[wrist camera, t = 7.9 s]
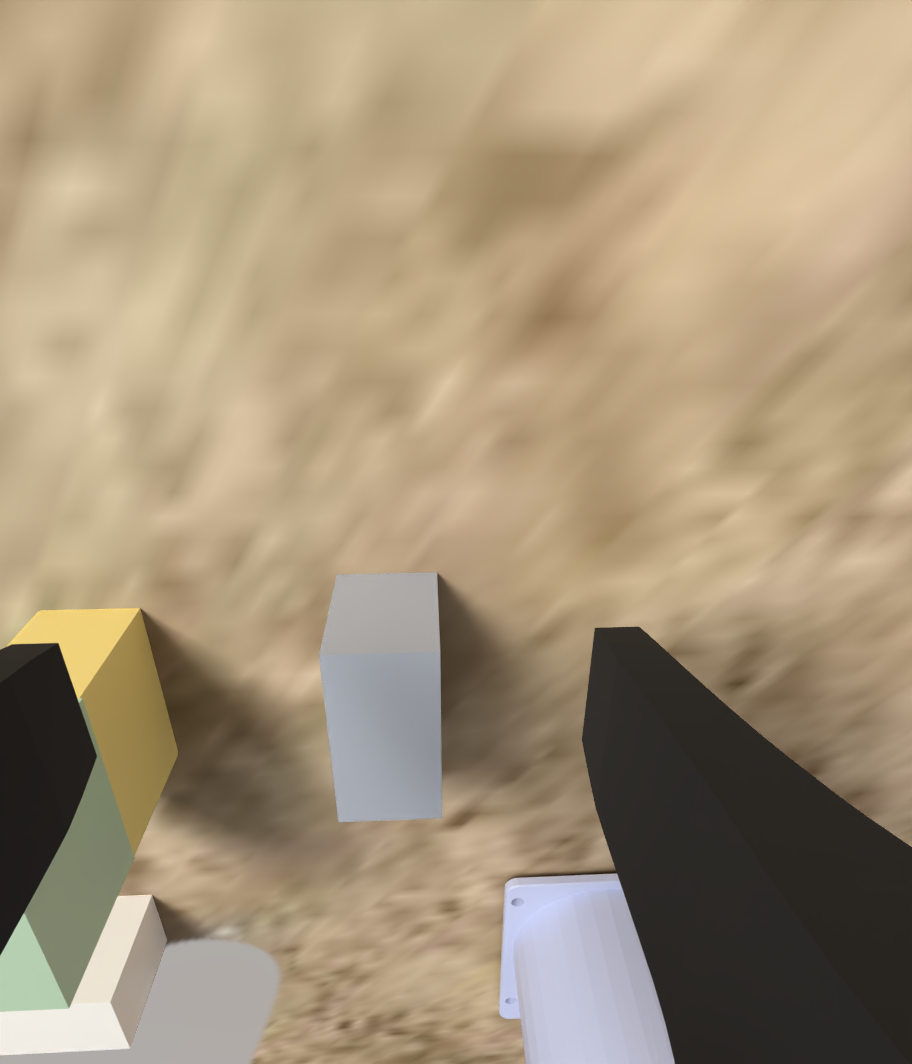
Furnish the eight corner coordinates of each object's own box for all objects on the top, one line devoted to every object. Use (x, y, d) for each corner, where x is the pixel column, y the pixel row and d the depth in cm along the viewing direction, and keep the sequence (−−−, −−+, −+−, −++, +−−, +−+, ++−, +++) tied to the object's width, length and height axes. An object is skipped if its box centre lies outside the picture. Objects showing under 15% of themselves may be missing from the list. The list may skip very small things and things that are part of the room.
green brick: (134, 857, 19) (69, 1008, 16) (28, 861, 19) (-62, 1014, 15) (82, 698, 16) (-11, 837, 13) (-42, 701, 16) (-171, 843, 13)
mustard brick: (178, 753, 23) (133, 857, 19) (89, 756, 23) (28, 861, 19) (140, 607, 20) (79, 697, 16) (39, 610, 20) (-45, 701, 16)
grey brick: (438, 720, 23) (441, 818, 19) (351, 723, 23) (338, 822, 19) (436, 570, 20) (439, 651, 16) (337, 572, 20) (319, 655, 16)
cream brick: (152, 892, 26) (110, 1002, 23) (168, 938, 27) (129, 1048, 24) (-3, 898, 26) (-70, 1010, 22) (21, 944, 27) (-40, 1057, 24)
